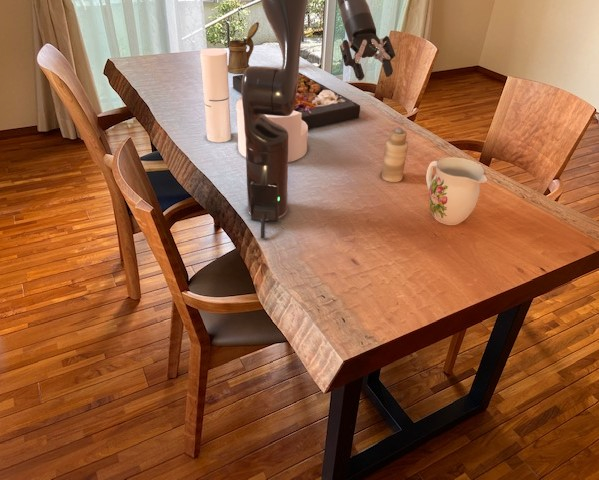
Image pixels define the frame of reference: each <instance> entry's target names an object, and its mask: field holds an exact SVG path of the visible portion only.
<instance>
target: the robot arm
mask: <svg viewBox="0 0 599 480" xmlns="http://www.w3.org/2000/svg"><path fill="white" fill-rule="evenodd" d="M336 2H337V5H338V9H339V13H340V18H341V21H342V24H343V27H344V31H345V33H346V37H347V39H344V40H343V41H342V42H341V44H340V46H339V48H340V53H341V57H342V61H343V65H344V66H345V67H351V68H352V70H353V73H354V76H355V78H356V79H357V80H358V81H359V82H360V81H362V80H364V78H365V73H364V70H363V68H362V64H361V62H360V61H361V59H365V58H374V59H375V60H378V61H379V62H380V63H382V69H383V71H384V73H385V77H386V78H389V77H391V76H392V75H393V72H394V69H393V65H392V63H391V61H392V60H393V59H394V58H395V57H396V52H395V51H394V46H393V45H392V42H391V40H390V37H389V36H388V35H385V36H384V37H383V38H379V37H378V35H377V27H376V24H375V20H374V18H373V15H372V12H371V9H370V6H369V4H368V2H367V0H336ZM261 6H262V10H263V12H264V15H265V17H266V19H267V22H268V24H269V26H270V28H271V29H272V31H273V34H274V35H275V38H276V40H277V43H278V45H279V48H280V51H281V55H282V66H281V67H272V66H271V67H270V66H257V65H251V66H250V65H249V66H250V67H248V68H247V69H246V70H245V72H244V73H242V75H243V78H242V94H241V97H242V104H243V114H244V130H245V138H246V158H245V165H246V166H245V167H246V195H247V196H246V197H247V209H246V210H247V211H246V212H247V214H248V215H249V216H250V220H251V221H259V222H261V223H260V238H261V240H264V239H265V237H266V232H265V231H266V222H271V223H272V222H273V223H278V222H279V220H281V219H283V218H284V217H285V216H286V215H287V213H288V183H289V181H288V180H289V179H288V178H289V175H288V172H289V162H288V140H289V136H288V132H287V130H286V129H285V128H284V127H283V126H281V125H279V124H277V123H275V122H273V121H271V120H270V119H268V118H267V117H266V116H265V115H274V116H289V115H291V114H292V112H293V110H294V107H295V103H296V97H297V87H298V74H299V73H300V61H301V59H300V58H301V47H302V38H303V31H304V25H305V19H306V12H307V6H308V0H261ZM351 50H352V51H353V53H354V54H353V56H352V52H351Z"/></svg>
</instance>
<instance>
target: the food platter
mask: <svg viewBox="0 0 599 480" xmlns="http://www.w3.org/2000/svg"><path fill="white" fill-rule="evenodd" d="M242 78H243V74H238V75H233V76H232V88H233V90H235V91H236V92H238V93H239V94H241V95H242ZM294 111H297V112H300V113H302V116H301V119H302V120H303V121H304V122H306V124H307V125H308V131H309V130H313V129H317V128H321V127H322V128H323V127H326V126H330V125H335V124H340V123H343V122H349V121H353V120H357V119H360V114H361V105H360V104H359V103H357V102H355V101H353V100H352V99H349V98H347V97H346V96H344V95H342V94H340V92H336V91H334V90H333V89H331V88H329V87H327V86H326V85H324V84H321V83H319V82H318V81H316V80H315V79H312V78H310V77H308V76H307V75H306V74H303V73H301V72H299V74H298V87H297V97H296V103H295V107H294Z"/></svg>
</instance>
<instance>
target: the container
mask: <svg viewBox="0 0 599 480" xmlns="http://www.w3.org/2000/svg"><path fill="white" fill-rule="evenodd" d="M235 106H236V127H237V150H238V152H239V154H240V155H241V156H242V157H244V158H245V159H246V138H245V130H244V114H243V104H242V96H241V97H240V98H238V100H237V101H236V104H235ZM265 116H266V117H267V118H268V119H270V120H271V121H273V122H275V123H277V124H279V125H281V126H283V127H284V128H285V129H286V130H287V132H288V136H289V140H288V163H291V162H295V161H297V160H299V159H301V158H303V157H304V156H305V155H306V153H307V151H308V134H309V132H308V131H309V130H308V125H307V124H306V122H304V121H303V120H302V119H301V116H302V113H300V112H297V111H294V110H293V112H292V114H291V115H289V116H274V115H265Z"/></svg>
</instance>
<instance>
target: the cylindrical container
mask: <svg viewBox="0 0 599 480" xmlns="http://www.w3.org/2000/svg"><path fill="white" fill-rule="evenodd" d="M199 52H200V54H199V55H200V64H201V65H200V66H201V77H202V78H201V79H202V91H203V102H204V103H203V104H204V115H205V117H204V118H205V129H206V139H207V140H208V141H209V142H212V143H216V144H217V143H219V144H221V143H226V142H228V141H230V140H231V139H232V129H231V128H232V127H231V108H230V106H231V105H230V85H229V71H228V51H227V50H225V49H224V48H219V47H208V48H203V49H202V50H201V49H200V51H199Z"/></svg>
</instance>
